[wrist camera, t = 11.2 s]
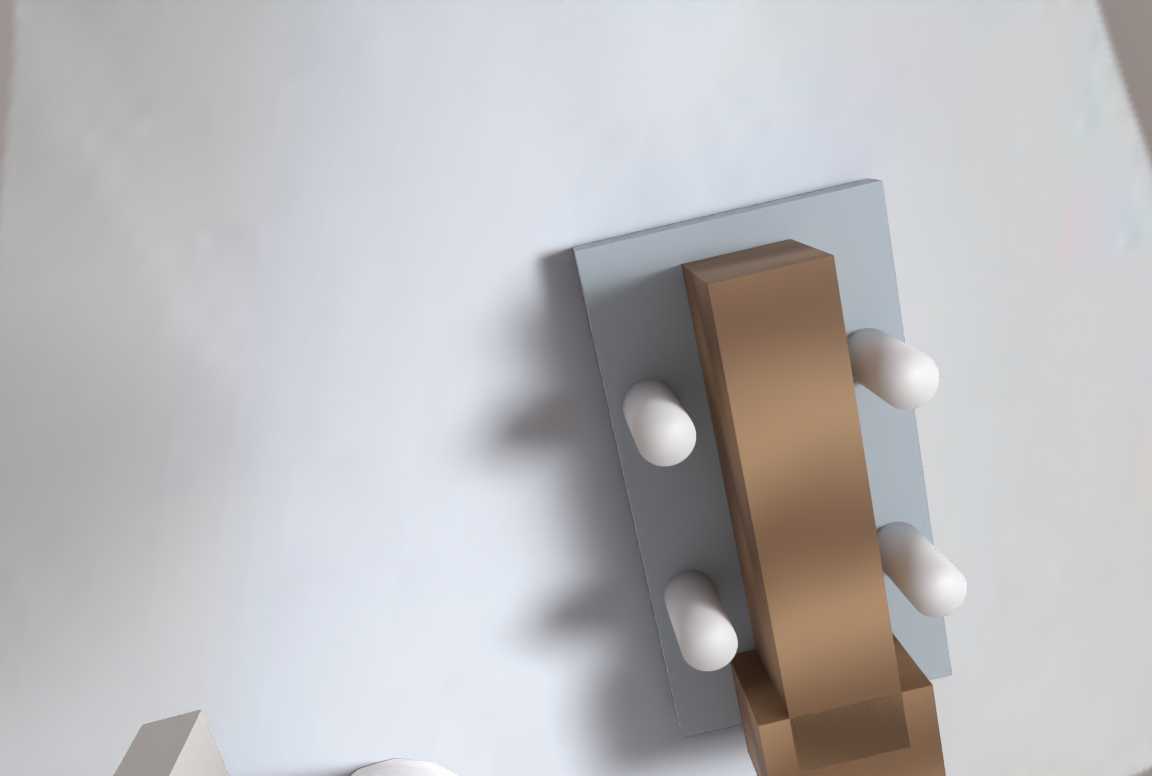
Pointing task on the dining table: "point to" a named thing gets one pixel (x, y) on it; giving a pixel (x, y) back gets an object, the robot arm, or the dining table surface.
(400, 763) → the foam cup
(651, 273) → the rack
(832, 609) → the wooden toy mallet
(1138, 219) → the dining table surface
